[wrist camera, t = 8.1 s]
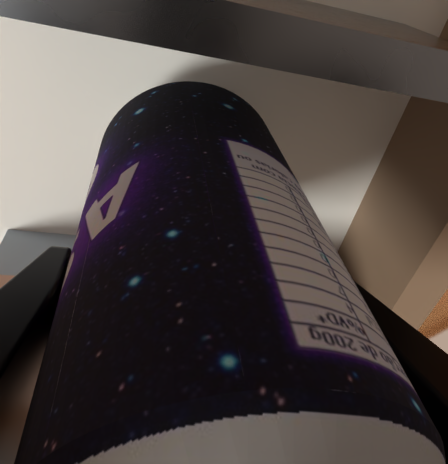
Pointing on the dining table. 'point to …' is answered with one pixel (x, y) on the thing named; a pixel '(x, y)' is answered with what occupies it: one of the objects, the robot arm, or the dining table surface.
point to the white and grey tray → (277, 121)
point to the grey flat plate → (265, 37)
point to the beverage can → (212, 311)
